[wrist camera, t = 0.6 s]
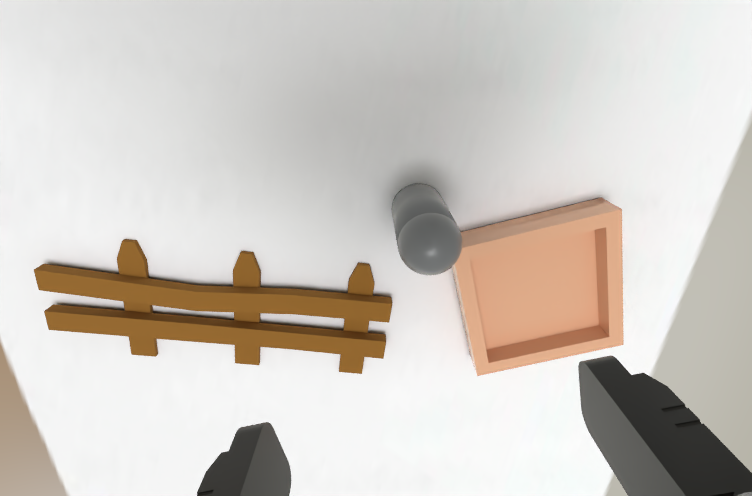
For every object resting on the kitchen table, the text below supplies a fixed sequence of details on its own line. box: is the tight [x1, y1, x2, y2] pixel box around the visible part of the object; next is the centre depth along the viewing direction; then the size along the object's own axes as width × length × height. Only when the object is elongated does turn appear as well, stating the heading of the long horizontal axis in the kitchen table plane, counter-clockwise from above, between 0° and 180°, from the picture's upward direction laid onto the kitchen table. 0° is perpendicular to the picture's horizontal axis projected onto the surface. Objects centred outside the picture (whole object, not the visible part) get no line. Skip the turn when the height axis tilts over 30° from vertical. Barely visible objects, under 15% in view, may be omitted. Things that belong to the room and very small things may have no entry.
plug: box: [392, 184, 462, 275], centre depth 25 cm, size 4×4×8 cm
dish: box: [452, 198, 623, 376], centre depth 30 cm, size 11×11×2 cm
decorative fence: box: [34, 239, 392, 374], centre depth 31 cm, size 25×2×10 cm
